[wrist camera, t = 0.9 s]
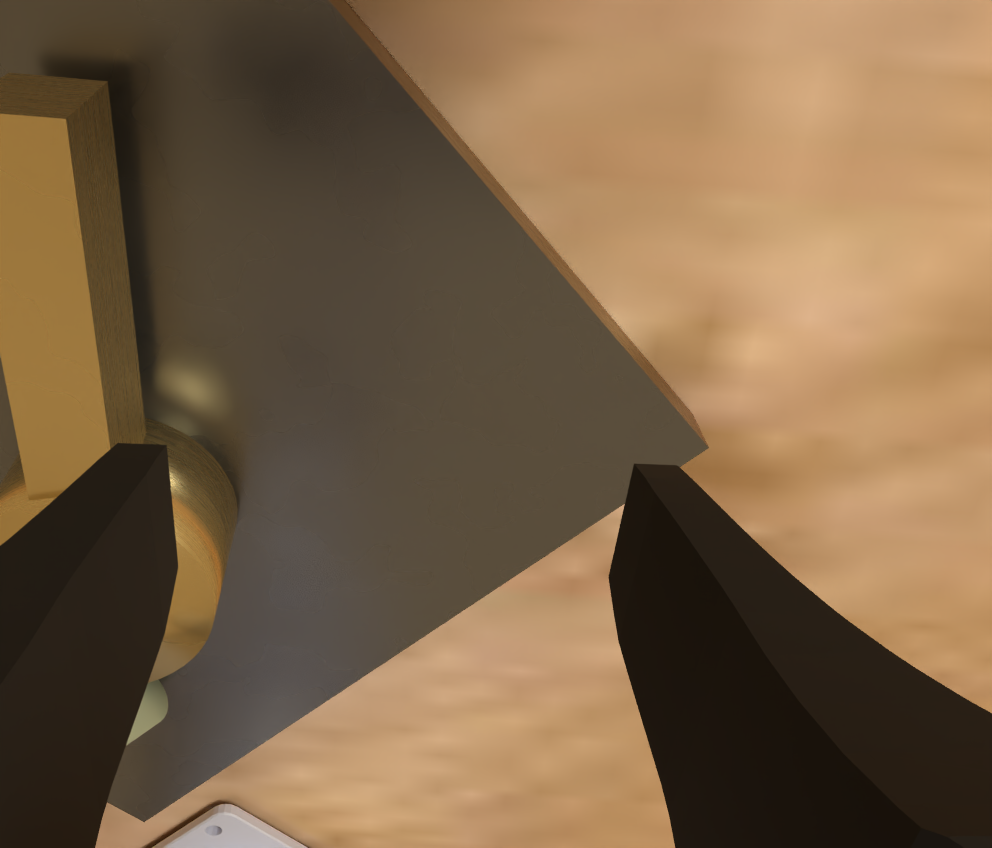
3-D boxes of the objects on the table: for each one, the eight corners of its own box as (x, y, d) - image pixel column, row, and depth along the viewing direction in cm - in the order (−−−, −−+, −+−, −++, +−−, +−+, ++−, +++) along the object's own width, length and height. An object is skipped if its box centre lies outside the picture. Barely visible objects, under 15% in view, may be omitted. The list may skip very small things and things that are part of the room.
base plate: (155, 779, 29) (131, 872, 27) (-595, 353, 20) (-742, 433, 17) (692, 414, 24) (728, 488, 21) (-6, -417, 14) (-96, -470, 12)
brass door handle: (241, 589, 23) (220, 690, 21) (27, 584, 23) (-23, 688, 20) (215, 82, 17) (181, 131, 14) (-84, 55, 16) (-181, 102, 14)
